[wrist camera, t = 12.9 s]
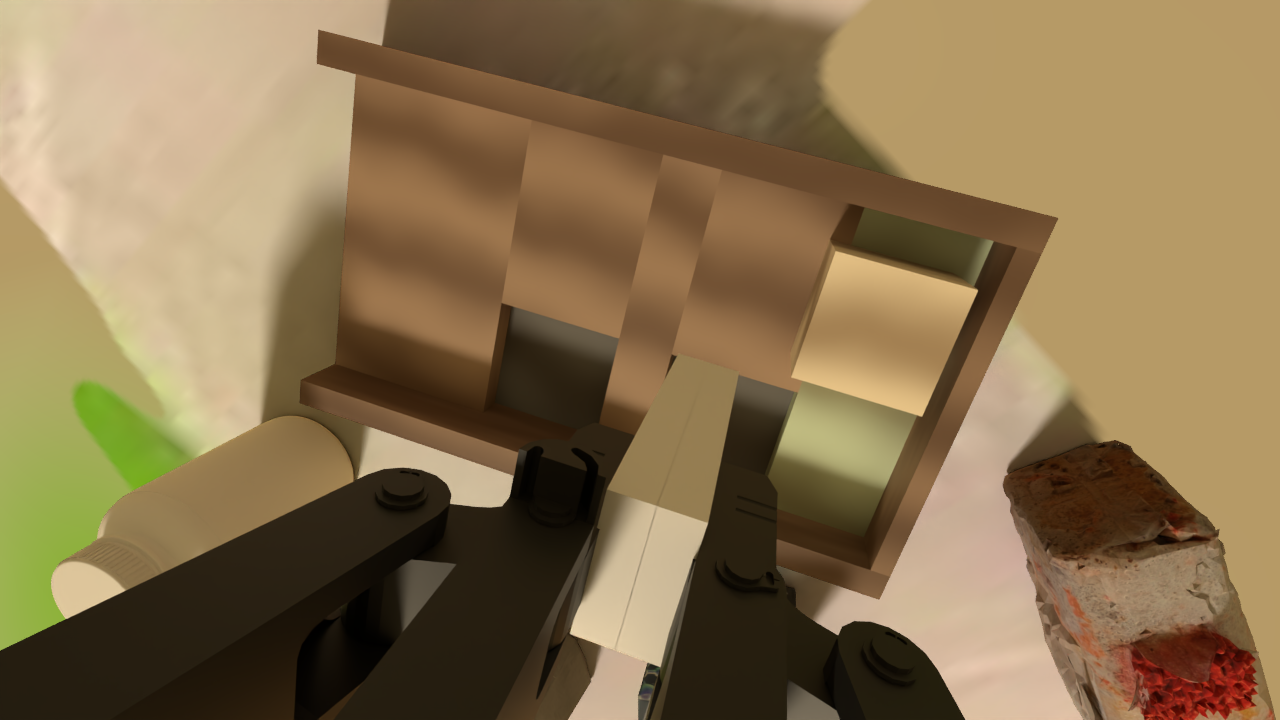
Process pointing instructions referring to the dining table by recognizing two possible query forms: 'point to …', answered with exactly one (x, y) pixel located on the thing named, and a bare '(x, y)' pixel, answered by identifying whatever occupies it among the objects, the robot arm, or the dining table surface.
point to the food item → (1134, 592)
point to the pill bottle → (203, 508)
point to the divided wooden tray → (638, 290)
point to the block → (879, 327)
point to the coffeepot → (565, 684)
